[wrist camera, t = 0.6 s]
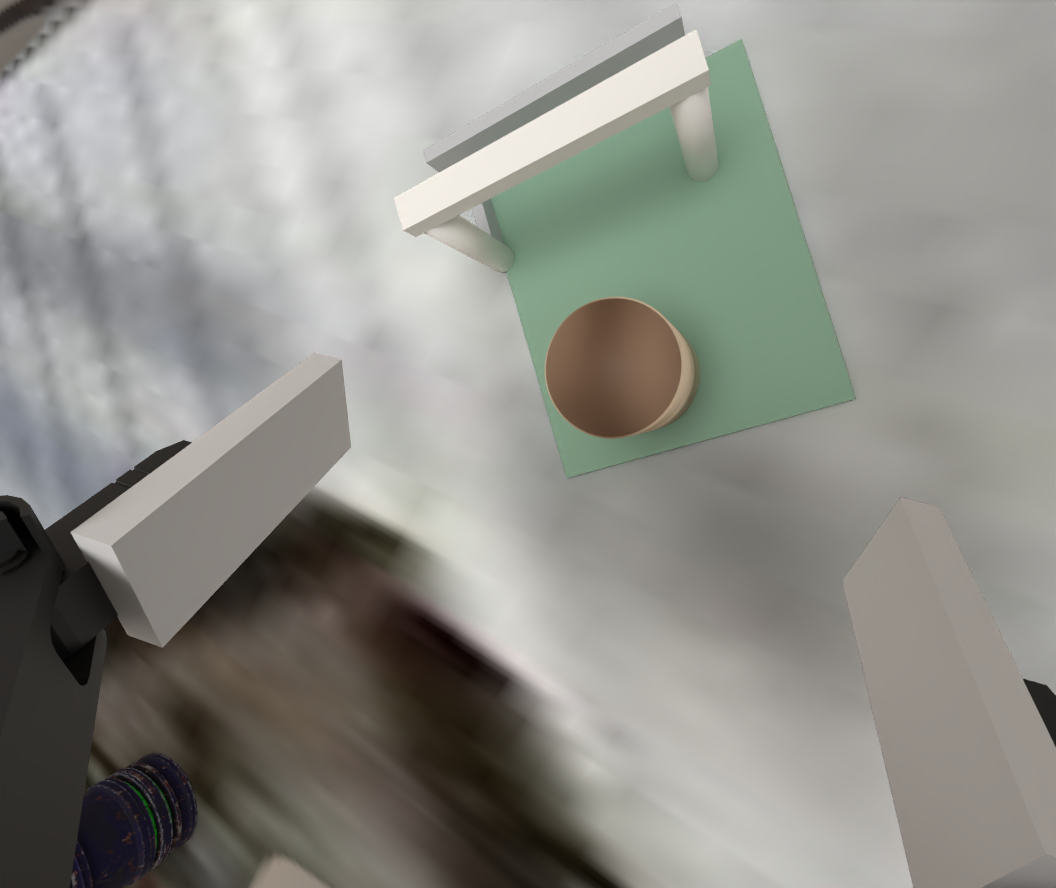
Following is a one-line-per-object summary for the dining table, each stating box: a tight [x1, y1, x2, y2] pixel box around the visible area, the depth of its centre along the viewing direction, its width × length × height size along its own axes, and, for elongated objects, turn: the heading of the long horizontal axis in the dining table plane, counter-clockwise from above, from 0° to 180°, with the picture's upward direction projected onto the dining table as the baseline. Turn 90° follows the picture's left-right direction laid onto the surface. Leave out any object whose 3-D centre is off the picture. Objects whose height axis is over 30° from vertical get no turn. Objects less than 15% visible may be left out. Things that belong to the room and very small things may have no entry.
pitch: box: [491, 39, 856, 478], centre depth 35 cm, size 18×22×1 cm
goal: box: [394, 2, 718, 272], centre depth 31 cm, size 16×7×11 cm, turn 108°
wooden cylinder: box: [545, 297, 700, 439], centre depth 31 cm, size 7×7×9 cm
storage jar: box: [70, 753, 197, 888], centre depth 51 cm, size 10×10×15 cm
